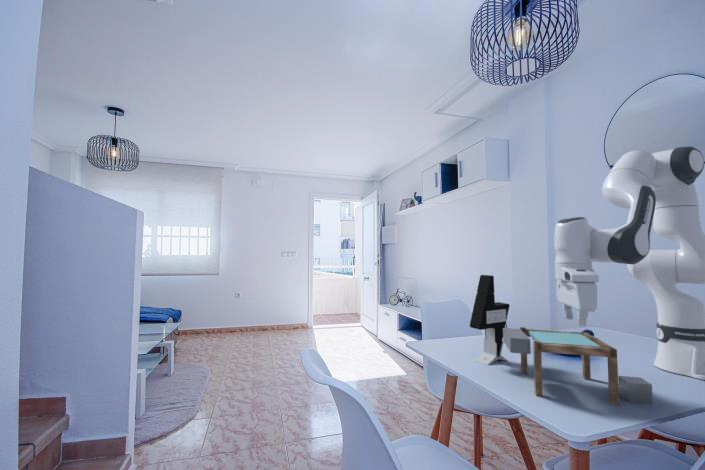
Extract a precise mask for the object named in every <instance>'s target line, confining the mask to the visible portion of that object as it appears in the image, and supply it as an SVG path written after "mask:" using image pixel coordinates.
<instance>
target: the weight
mask: <svg viewBox="0 0 705 470" xmlns="http://www.w3.org/2000/svg"><path fill="white" fill-rule="evenodd" d="M618 388H619V396H620V397H622V398H623V399H624V400H625V401H627V402H628V403H629V404H630V403H631V404H638V405H647V406H653V405H654V402H653V401H654V399H653V385H652V383H649V382H648V381H647V380H645V379H644V378H642V377H637V376H625V375H618Z"/></svg>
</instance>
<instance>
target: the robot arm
mask: <svg viewBox="0 0 705 470" xmlns="http://www.w3.org/2000/svg"><path fill="white" fill-rule="evenodd" d="M704 168H705V159H704V155H703V153H702V151H700V150H699V149H698V148H696V147H694V146H677V147H675V148H674V149H673V148H672V149H666V150H662V151H657V152H653V153H652V152H651V153H650V152H649V151H646V150H642V149H641V150H639V149H638V150H635V149H634V150H631V151H628V152H626V153H624V154H622V156H621V157H620V158H619V159H617V161H616V162H615V164H614V165H613V166H612V167H611V169H610V171H609V173H608V174H607V175H606V177H605V180H604V181H603V184H602V186H601V194H602V195H603V197H604V198H605V200H606V201H607V202H609V203H610V204H611V205H613V206H616V207H617V208H622V209H628V210H629V212H628V216H627V220H626V223H625V224H623V225H621V226H618V227H614V228H613V227H612V228H598V229H597V228H595V227H593V226H591V224H589V222H588V218H587V217H584V216H583V217H582V216H575V217H570V218H564V219H563V218H562V219H560V220H559V221H556V224H555V227H554V233H553V234H554V235H553V239H554V240H553V241H554V243H553V245H554V247H553V249H554V251H555V254H556V255H555V260H554V271H555V272H554V276H555V280H556V287H555V288H556V291H555V292H556V293H555V294H556V295H555V297H556V300H557V302H559V303H562V308H563V311H564V318H565V319H566V320H570V321H571V320H572V321H573V320H574V313H573V309H576V313H577V318H576V325H578V326H579V327H584V328H585V327H586V326H587V319H588V316H589V312H592V313H593V312H596V310H597V308H598V286H597V283H599V282H600V278H599V277H600V275H599V274H598V273H597V272H596V271H595V270H594V268H593V264H592V263H596V262H597V263H614V264H615V263H616V264H624V265H626V266H627V270H628V272H629V274H630V275H631V276H632V277H633V278H635V280H638V281H639V282H641V283H642V284H643V285H644V286H645V287H646V288H647V289H648V291H650V292H651V294H652V296H653V298H654V301H655V305H656V311H657V322H656V338H657V348H656V349H657V350H656V355H655V357H654V358H655V359H654V362H653V365H654V367H656V368H658V369H661V370H664V371H666V372H670V373H673V374H674V373H675V374H677V375H681V376H682V375H683V376H687V377H692V378H694V379H699V380H703V381H705V305H704V302H702V301H701V300H700V299H698V298H697V297H694V296H693V295H690V294H688V293H685V292H683V291H681V290H679V289H678V288H677V286H676V284H692V285H693V284H695V285H697V284H698V285H705V233H704V231H703V228H702V225H701V220H700V219H701V217H700V208H699V197H698V193H697V189H696V185H695V181H696V180H697V178H699V176H700V175H701V174H702V172H703V171H704ZM652 225H653V231H654V233H655V234H656V235H657V236H659V237H661V238H664V239H667V240H670V241H673V242H676V243H678V245H679V246H680V247H679V248H678V249H677V248H676V249H650V248H651V241H650V240H651V239H650V238H651V237H650V235H651V230H652Z"/></svg>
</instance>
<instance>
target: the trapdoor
mask: <svg viewBox="0 0 705 470" xmlns="http://www.w3.org/2000/svg"><path fill="white" fill-rule="evenodd" d="M529 335H530V336H531V337H527V336H526V335H525V333H524V332H523V331H522V330H521V329H520V328H509V327H505V328H503V339H502V341H504V342H503V344H505V345H506V348H507V349H508V351H509V352H510V353H512V354H521V353H522V354H527V355H531V354H532V353H531V352H532V351H531V339H530V338H532V339H533V341H540V342H541V343H547V344H561V345H576V346H590V347H601V346H599V345H598V344H596V343H594V342H593V341H591V340H590V339H588V338H586V337H585V336H583V335H581V334H573V333H557V332H540V331H529Z"/></svg>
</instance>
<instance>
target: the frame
mask: <svg viewBox="0 0 705 470" xmlns="http://www.w3.org/2000/svg"><path fill="white" fill-rule="evenodd" d="M519 329H521V330H522V331H523V332H524V333H525V335H526V336H527V337H528V338H532V337H531V336H530V335H529V331H540V332H557V333H573V334H581V335H583V336H585V337H586V338H588V339H590V340H591V341H593V342H594V343H596V344H598V345H599V346H601V347H590V346H576V345H561V344H547V343H541V342H540V341H535V340H532V341H533V342H532V343H533V344H532V345H533V371H534V372H533V373H534V375H533V377H534V394H535V396H536V397H544V395H543V394H544V393H543V391H544V390H543V369H542V368H543V365H542V361H543V360H542V353H546V354H547V353H548V354H561V355H563V354H564V355H574V356H576V355H577V356H581V361H582V362H581V363H582V378H583V379H584V380H588V381H591V380H592V379H591V361H590V360H591V357H592V356H593V357H599V358H601V357H602V358H607V377H608V378H607V379H608V383H607V384H608V401H609V403H610V404H612V405H617V406H619V405H620V395H619V379H618V376H619V371H618V370H619V369H618V365H619V364H618V349H616V348H615V347H612V346H611V345H609V344H607V343H606V342H604V341H602V340H601V339H598V338H597V337H595V336H594V335H591V334H590V333H588V332H582V331H561V330H546V329H543V330H542V329H531V328H530V329H529V328H526V327H525V326H524V327H523V326H522V327H521V326H520V327H519ZM520 366H521V367H520V368H521V369H520V372H521V374H524V375H525V374H526V375H527V374H529V373H528V354H522V353H520Z"/></svg>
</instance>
